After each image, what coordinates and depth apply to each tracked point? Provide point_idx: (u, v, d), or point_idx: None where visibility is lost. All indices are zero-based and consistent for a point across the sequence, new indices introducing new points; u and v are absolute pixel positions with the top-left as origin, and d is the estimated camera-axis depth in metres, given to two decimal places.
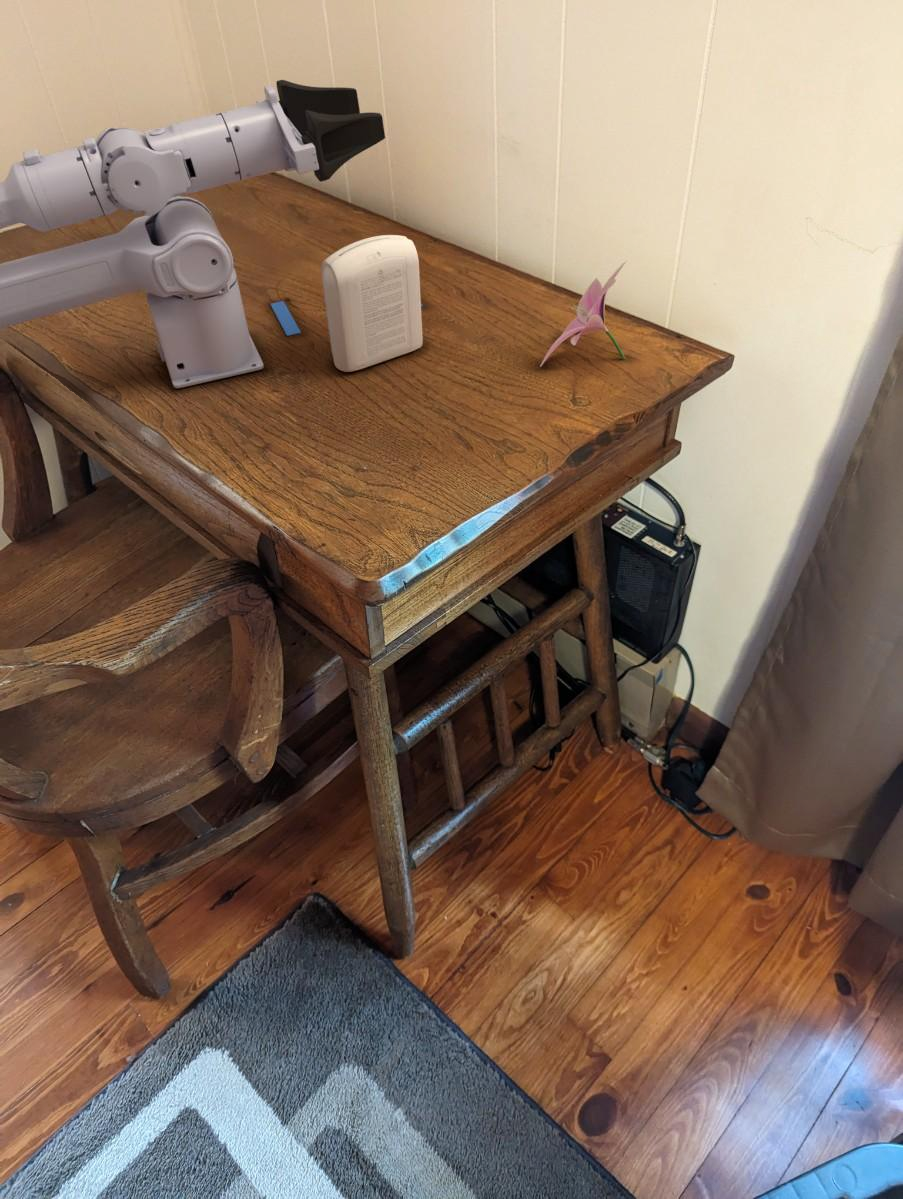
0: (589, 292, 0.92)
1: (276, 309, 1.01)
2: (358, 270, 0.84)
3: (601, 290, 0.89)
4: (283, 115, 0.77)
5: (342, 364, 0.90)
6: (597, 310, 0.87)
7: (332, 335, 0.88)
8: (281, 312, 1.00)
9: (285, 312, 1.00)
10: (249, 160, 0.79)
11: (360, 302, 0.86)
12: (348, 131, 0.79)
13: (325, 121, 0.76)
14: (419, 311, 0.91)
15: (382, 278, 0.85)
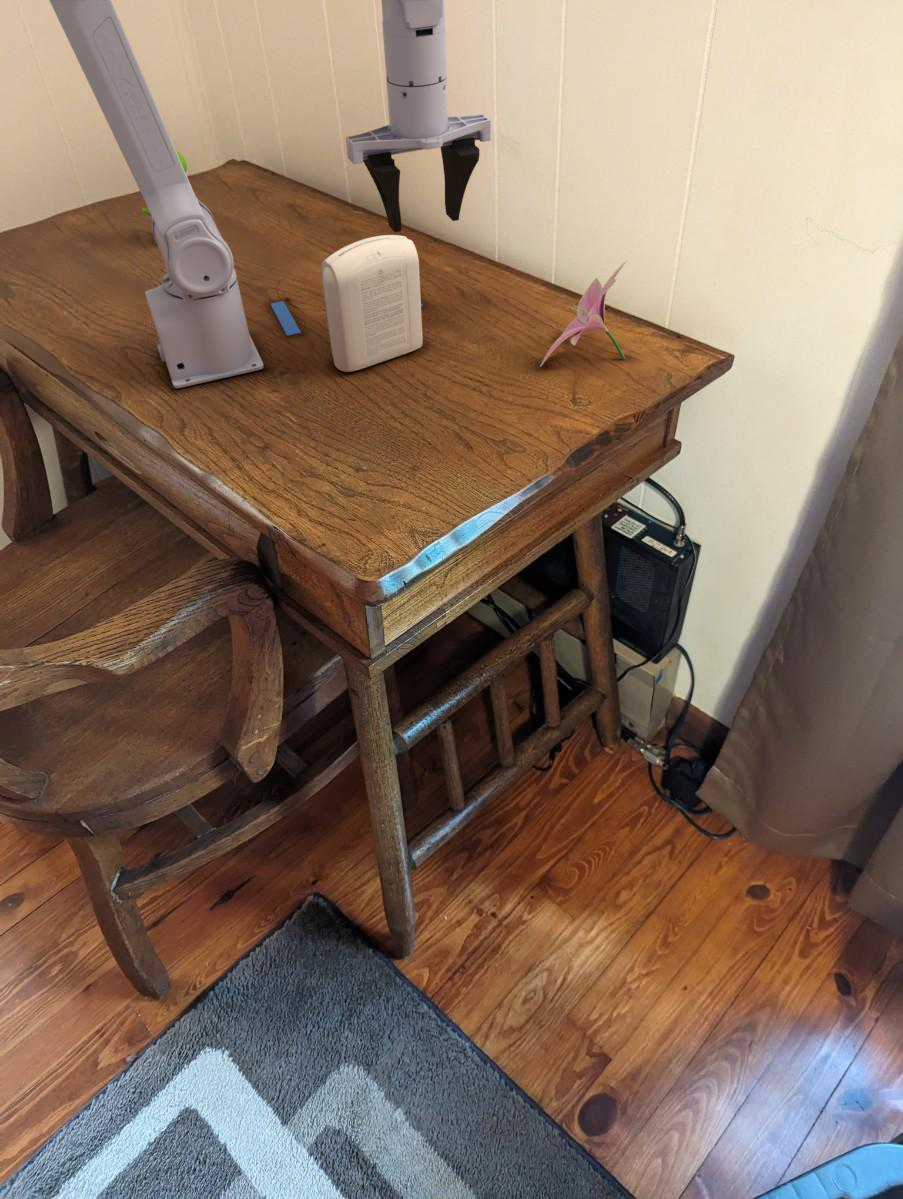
0: (589, 292, 0.92)
1: (276, 309, 1.01)
2: (358, 270, 0.84)
3: (601, 290, 0.89)
4: (403, 146, 0.83)
5: (342, 364, 0.90)
6: (597, 310, 0.87)
7: (332, 335, 0.88)
8: (281, 312, 1.00)
9: (285, 312, 1.00)
10: (387, 92, 0.82)
11: (360, 302, 0.86)
12: None
13: (380, 182, 0.85)
14: (419, 311, 0.91)
15: (382, 278, 0.85)
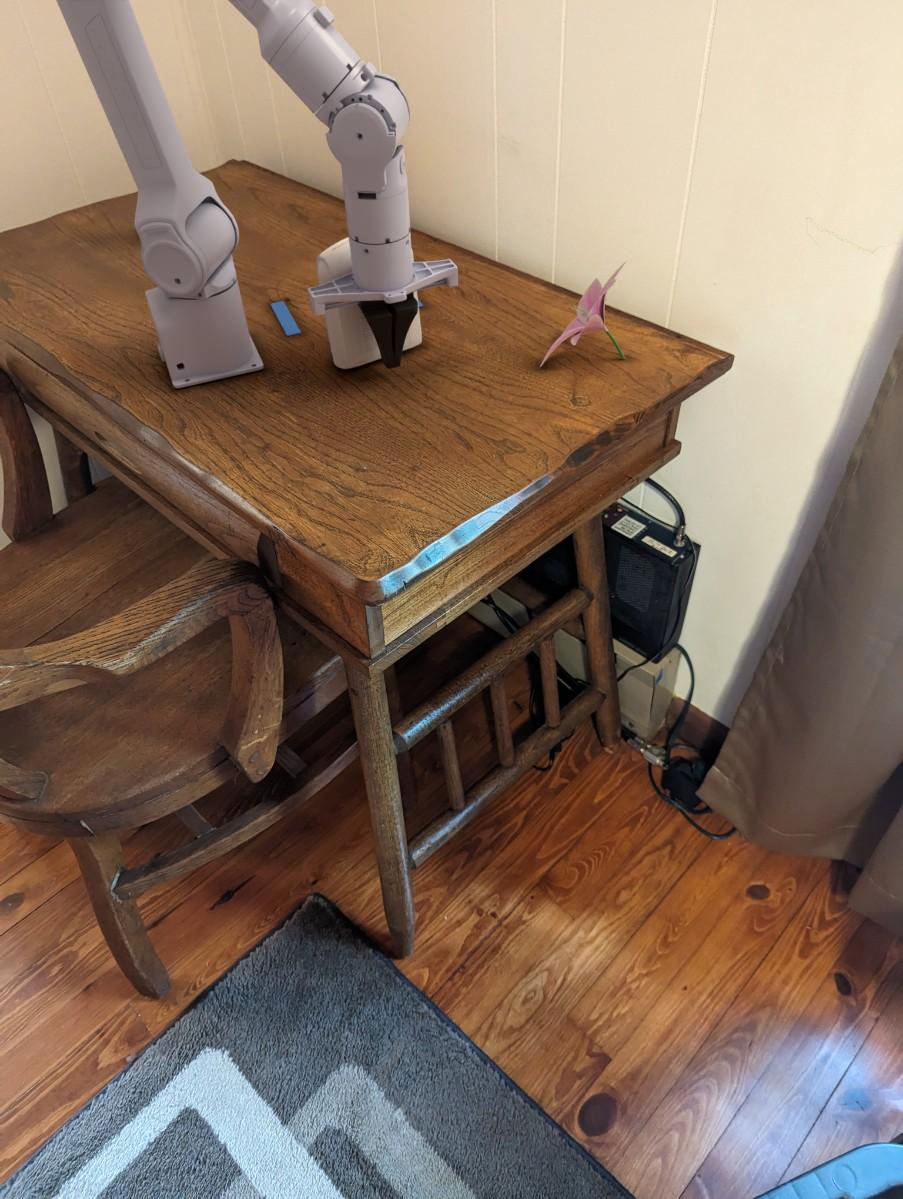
0: (589, 292, 0.92)
1: (276, 309, 1.01)
2: None
3: (601, 290, 0.89)
4: (366, 299, 0.81)
5: (341, 361, 0.90)
6: (597, 310, 0.87)
7: (330, 331, 0.88)
8: (281, 312, 1.00)
9: (285, 312, 1.00)
10: None
11: None
12: None
13: (372, 326, 0.83)
14: None
15: None
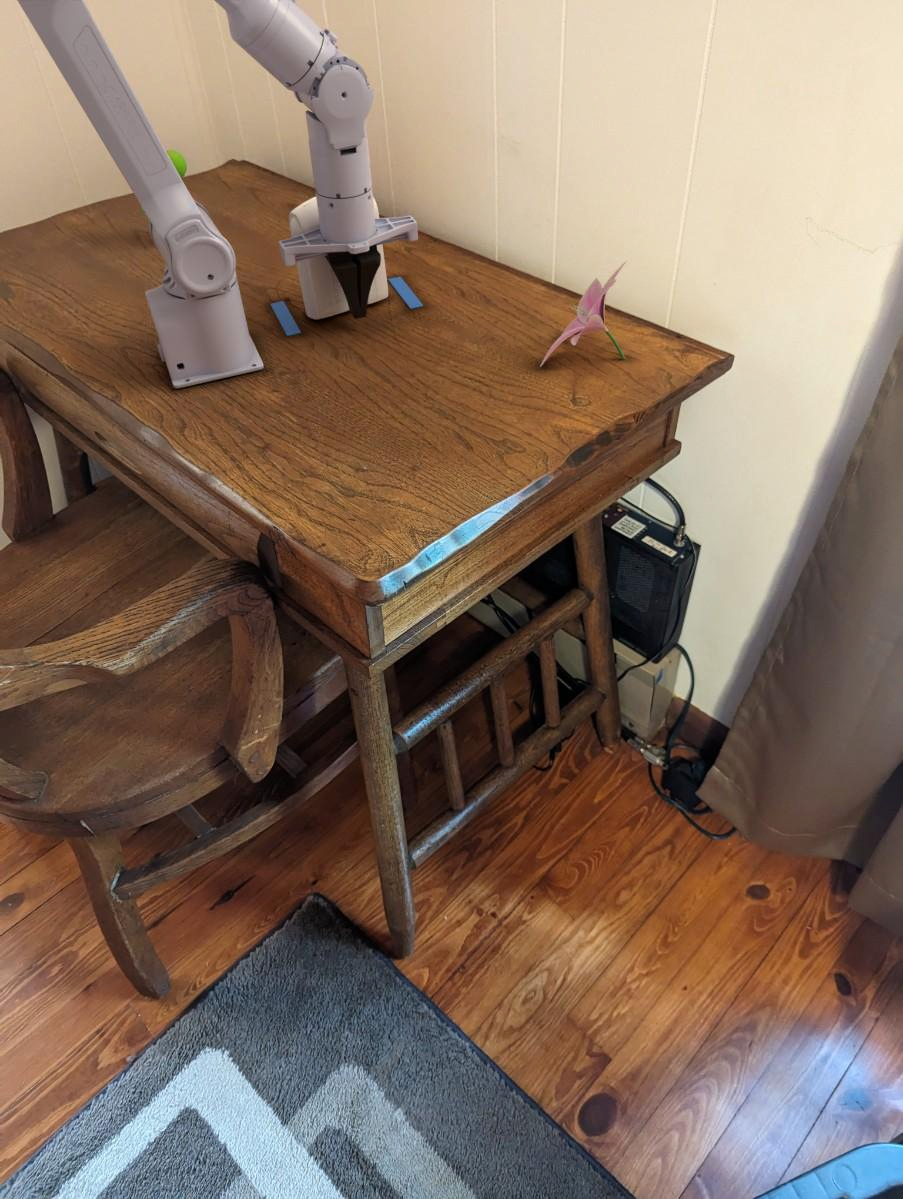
0: (589, 292, 0.92)
1: (276, 309, 1.01)
2: None
3: (601, 290, 0.89)
4: (333, 250, 0.89)
5: (313, 311, 0.98)
6: (597, 310, 0.87)
7: (302, 283, 0.96)
8: (281, 312, 1.00)
9: (285, 312, 1.00)
10: None
11: None
12: None
13: (338, 276, 0.91)
14: (382, 261, 0.98)
15: None
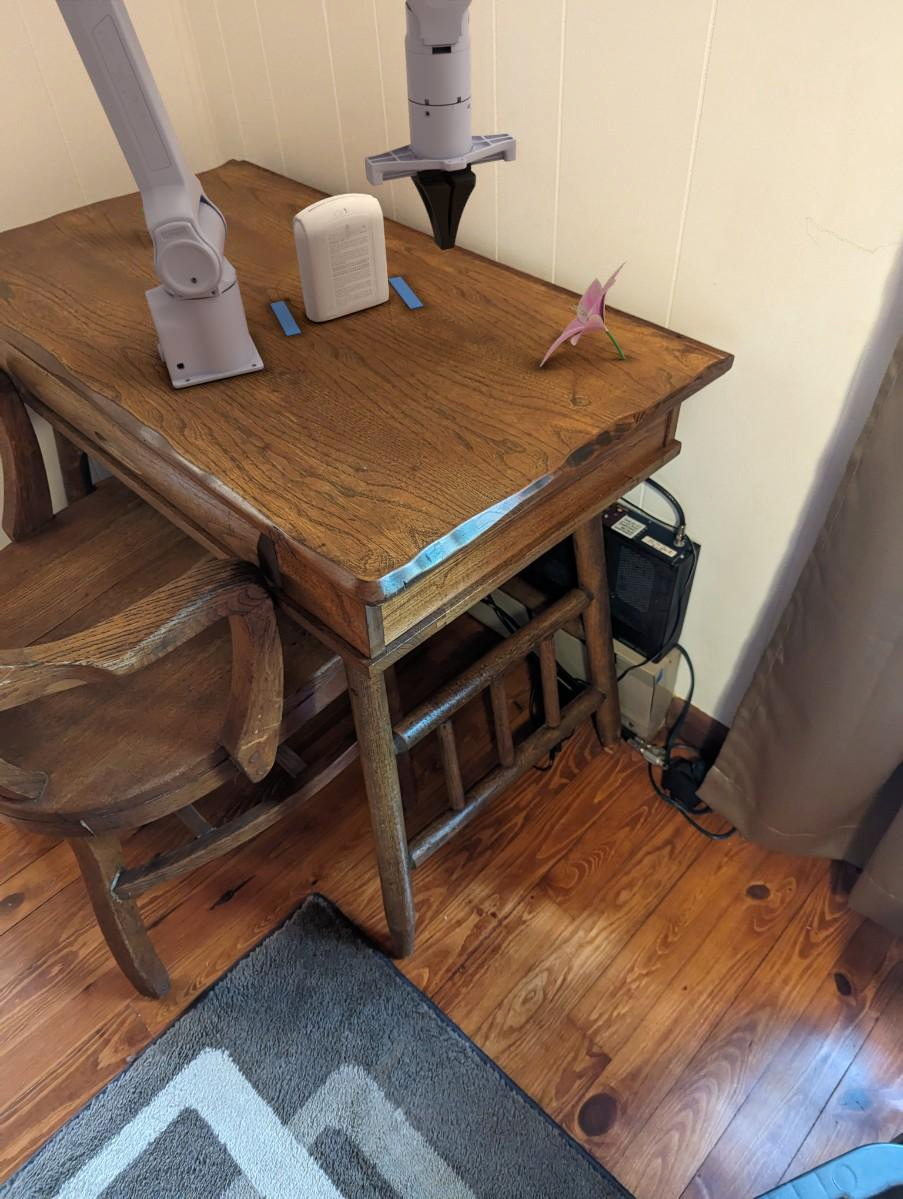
0: (589, 292, 0.92)
1: (276, 309, 1.01)
2: (326, 224, 0.91)
3: (601, 290, 0.89)
4: (425, 168, 0.79)
5: (313, 314, 0.98)
6: (597, 310, 0.87)
7: (304, 286, 0.96)
8: (281, 312, 1.00)
9: (285, 312, 1.00)
10: (409, 111, 0.78)
11: (328, 255, 0.93)
12: None
13: (429, 199, 0.82)
14: (385, 266, 0.98)
15: (349, 233, 0.93)
